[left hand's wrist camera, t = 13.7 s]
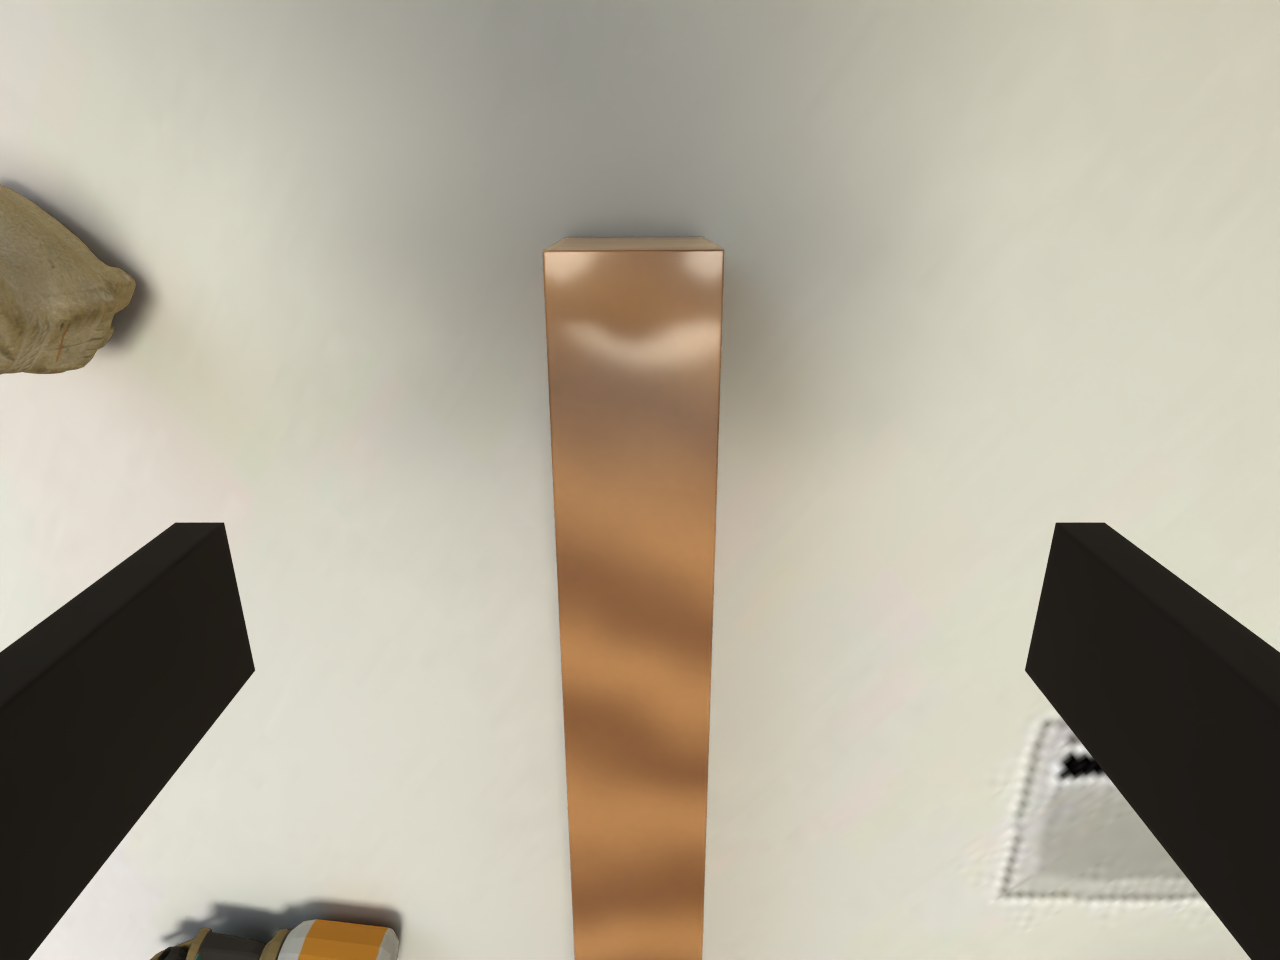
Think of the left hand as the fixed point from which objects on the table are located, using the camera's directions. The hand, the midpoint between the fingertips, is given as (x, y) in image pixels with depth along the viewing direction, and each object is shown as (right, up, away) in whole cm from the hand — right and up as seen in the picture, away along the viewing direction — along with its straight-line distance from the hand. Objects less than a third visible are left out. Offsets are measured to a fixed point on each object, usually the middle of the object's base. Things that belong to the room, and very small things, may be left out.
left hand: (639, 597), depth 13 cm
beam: (0, -25, +32) cm, 41 cm away
